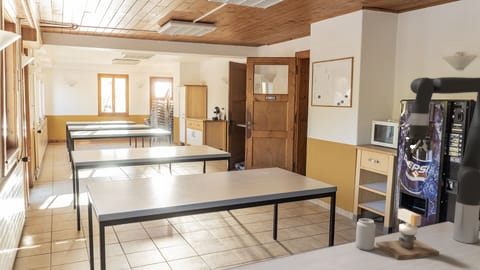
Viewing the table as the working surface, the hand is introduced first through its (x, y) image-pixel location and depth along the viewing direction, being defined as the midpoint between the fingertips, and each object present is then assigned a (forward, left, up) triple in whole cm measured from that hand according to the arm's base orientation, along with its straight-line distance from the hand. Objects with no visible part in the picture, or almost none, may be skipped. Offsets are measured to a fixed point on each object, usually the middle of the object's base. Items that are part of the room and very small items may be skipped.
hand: (416, 160), depth 166 cm
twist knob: (+10, +10, -28) cm, 32 cm away
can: (+26, +4, -36) cm, 45 cm away
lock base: (+10, +10, -36) cm, 39 cm away
